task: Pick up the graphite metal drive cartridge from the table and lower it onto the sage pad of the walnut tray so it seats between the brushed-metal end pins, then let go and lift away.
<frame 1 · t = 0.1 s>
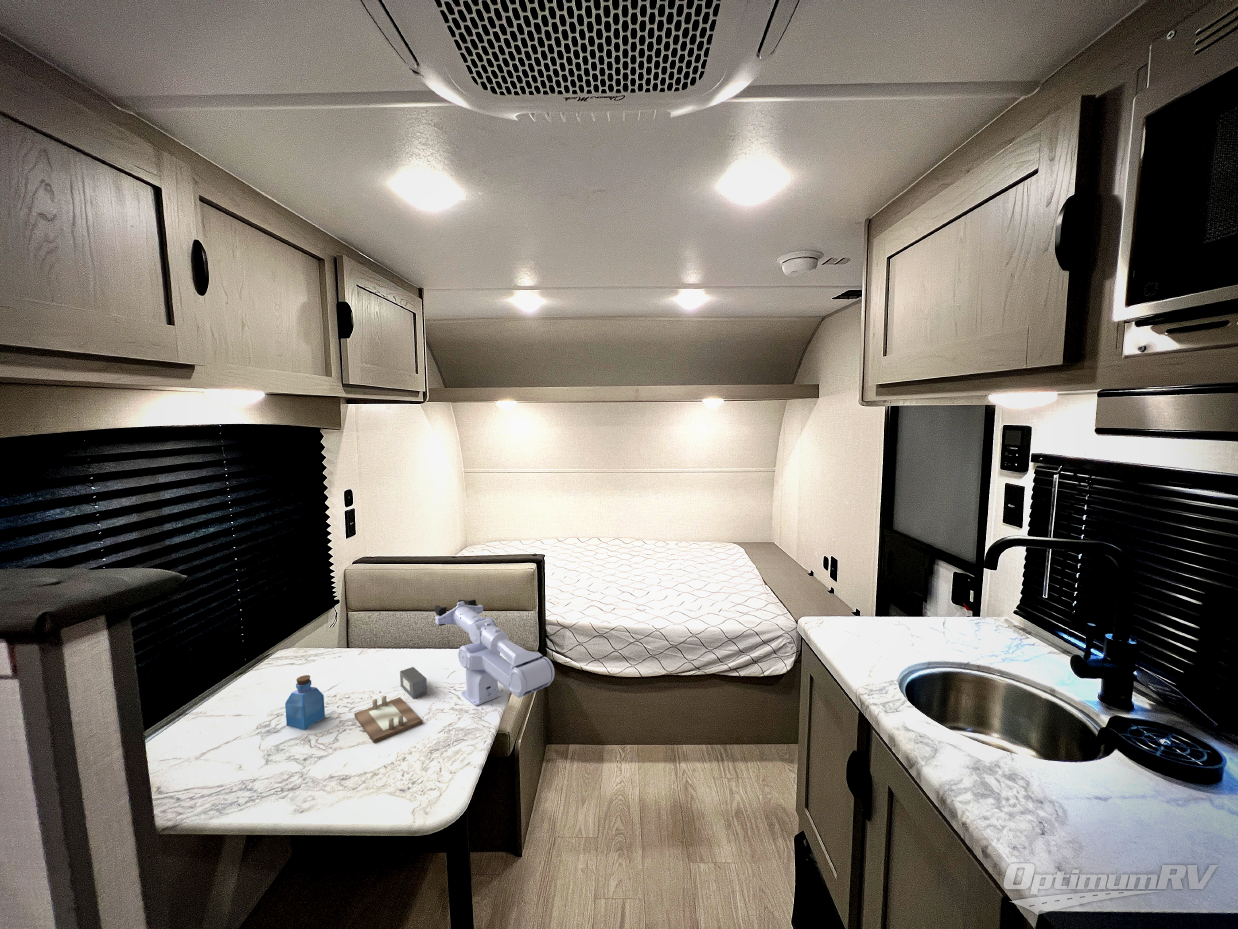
hand: (447, 605, 160), 22 cm above the table, tool horizontal, fingers open, 7 cm apart
drive: (413, 691, 151), on the table
perfume bottle: (306, 722, 136), on the table
pin tray: (387, 720, 136), on the table
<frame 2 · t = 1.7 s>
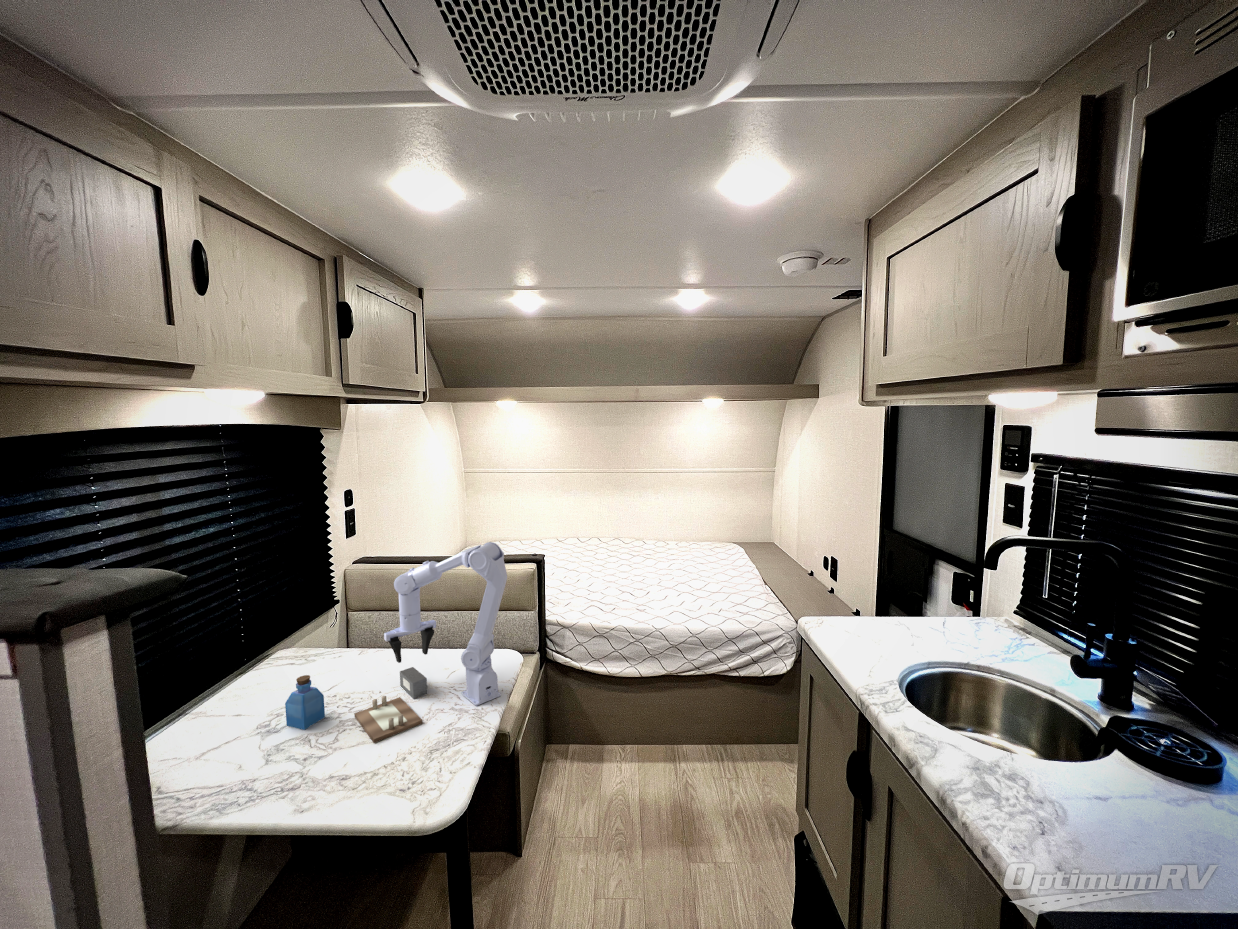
hand: (412, 657, 150), 10 cm above the table, tool pointing down, fingers open, 7 cm apart
nothing on the table moved.
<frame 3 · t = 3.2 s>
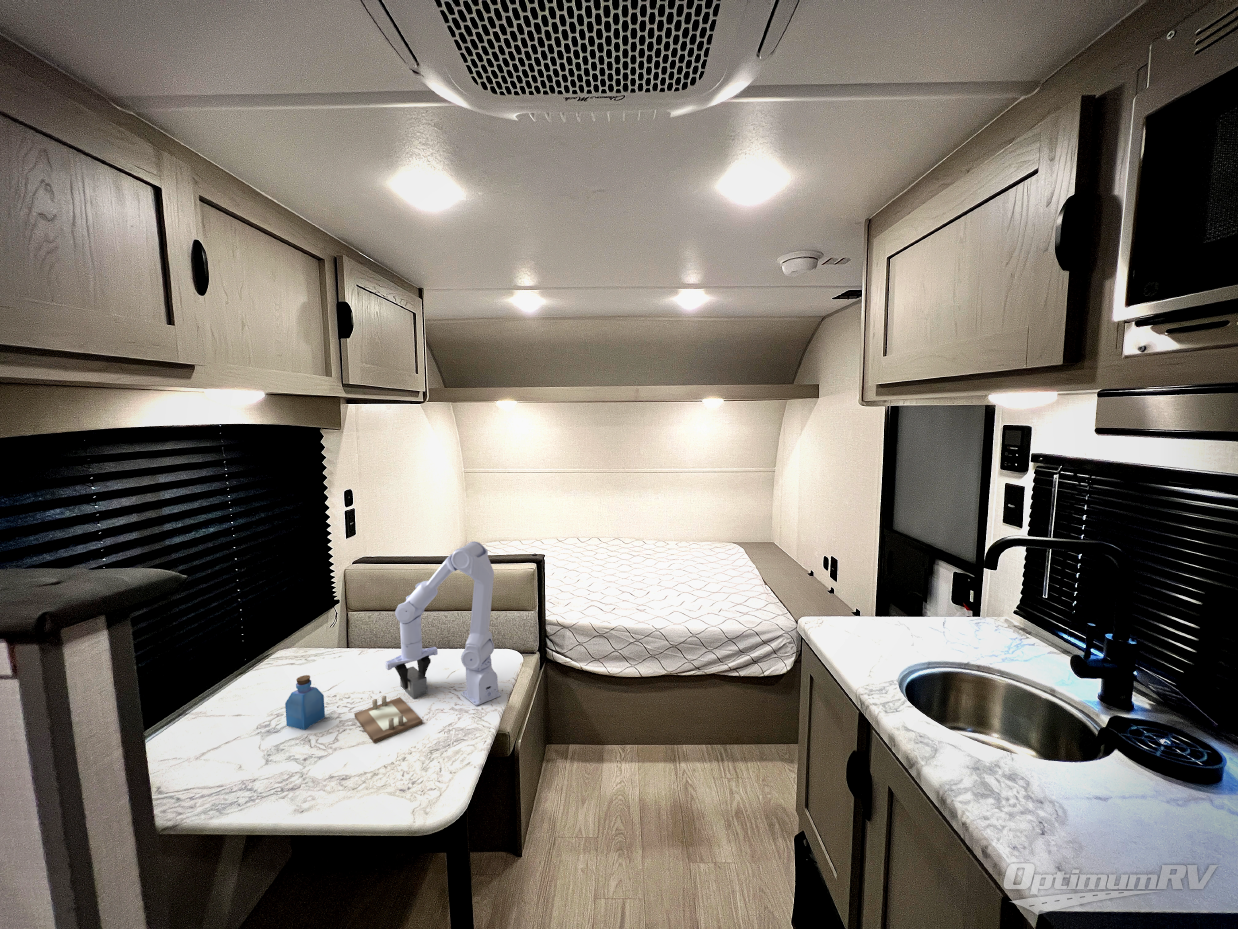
hand: (413, 685, 151), 2 cm above the table, tool pointing down, fingers closed on drive, 4 cm apart
drive: (413, 690, 151), on the table, touching gripper
everything else where it was.
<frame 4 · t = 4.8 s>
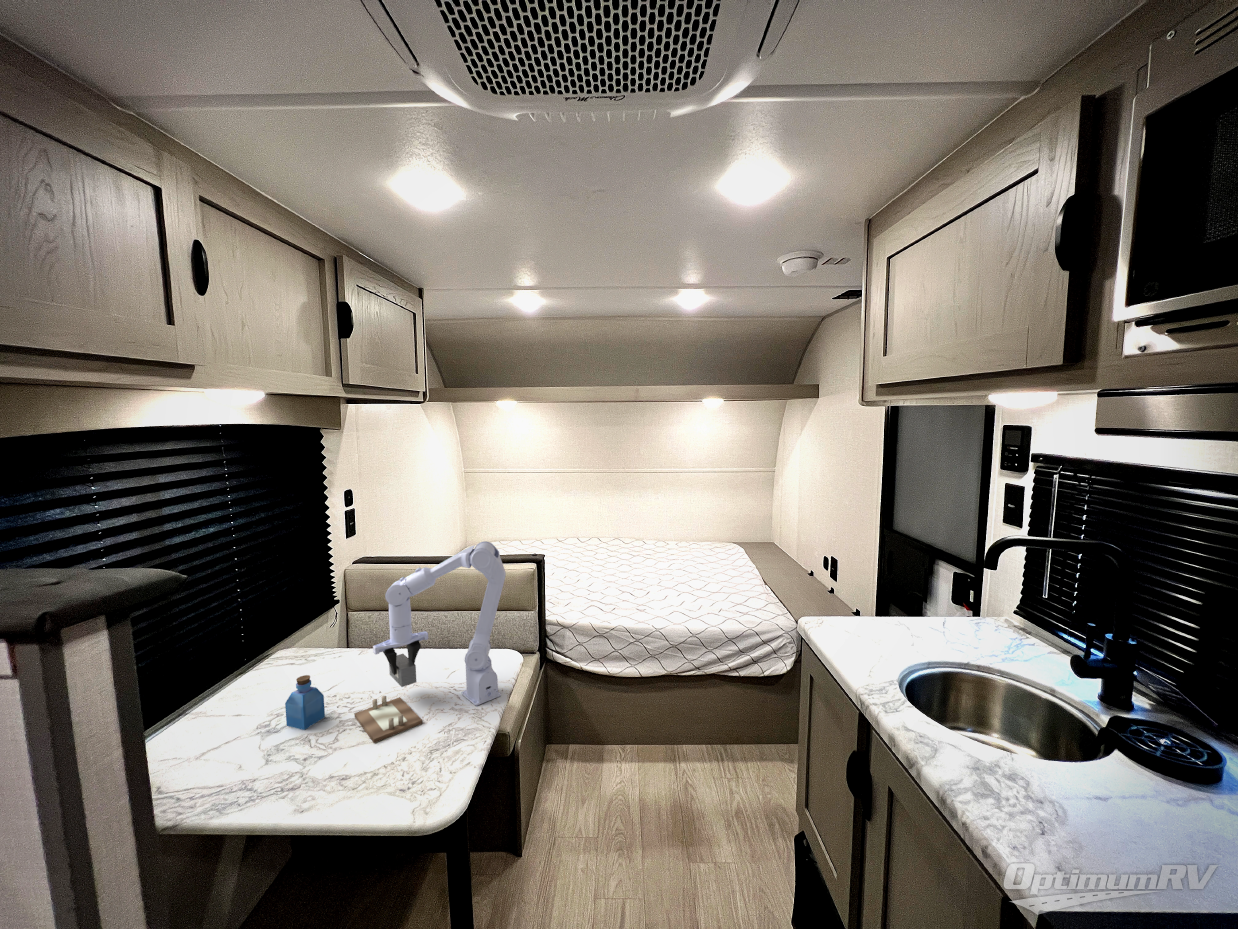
hand: (402, 670, 144), 9 cm above the table, tool pointing down, fingers closed on drive, 4 cm apart
drive: (402, 678, 145), point 7 cm above the table, touching gripper
everything else where it was.
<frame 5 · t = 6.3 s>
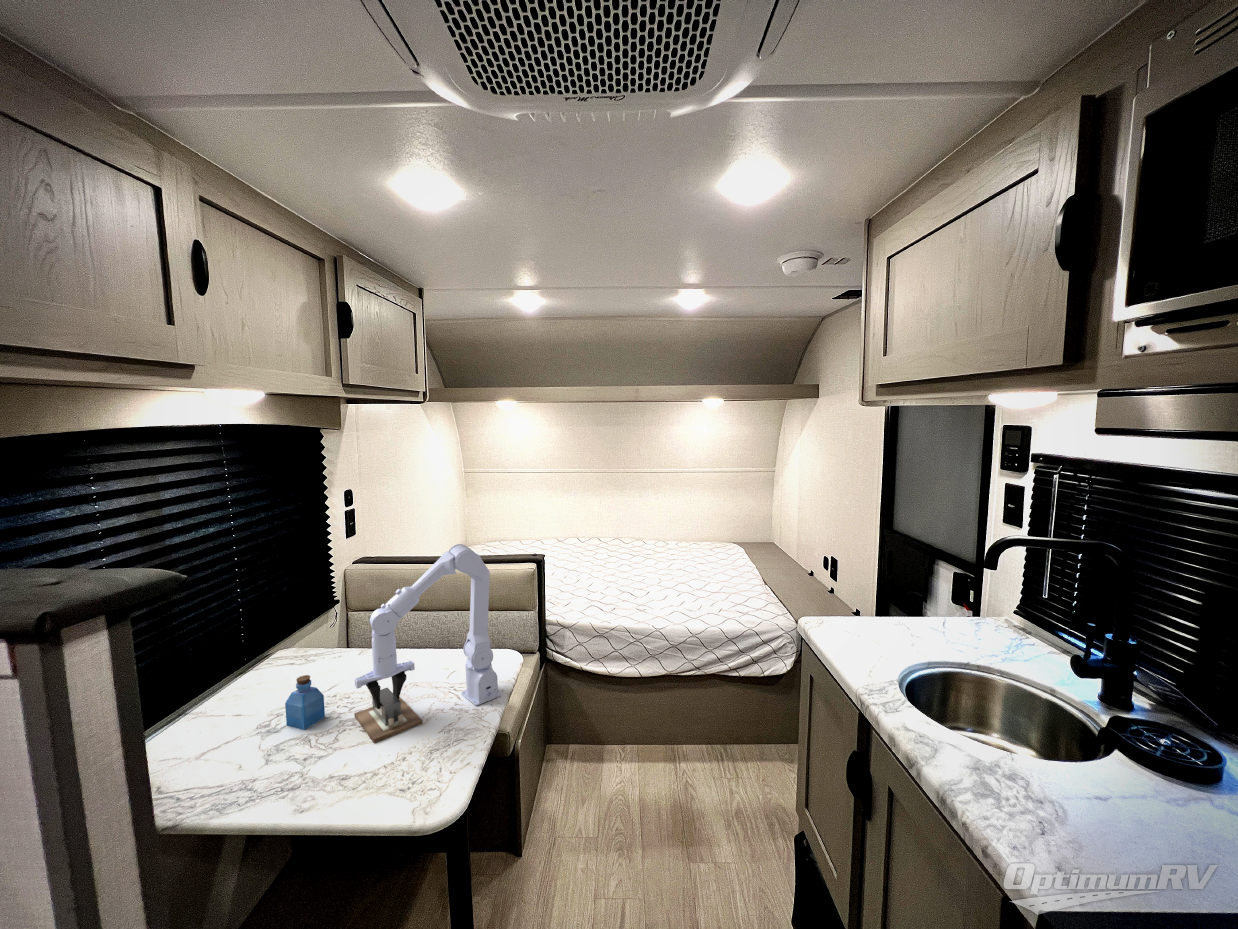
hand: (387, 704, 135), 4 cm above the table, tool pointing down, fingers closed on drive, 4 cm apart
drive: (386, 715, 136), point 1 cm above the table, touching gripper
everything else where it was.
when the fingers open (4 cm above the table, at t = 6.8 s): drive stays where it is, resting on pin tray.
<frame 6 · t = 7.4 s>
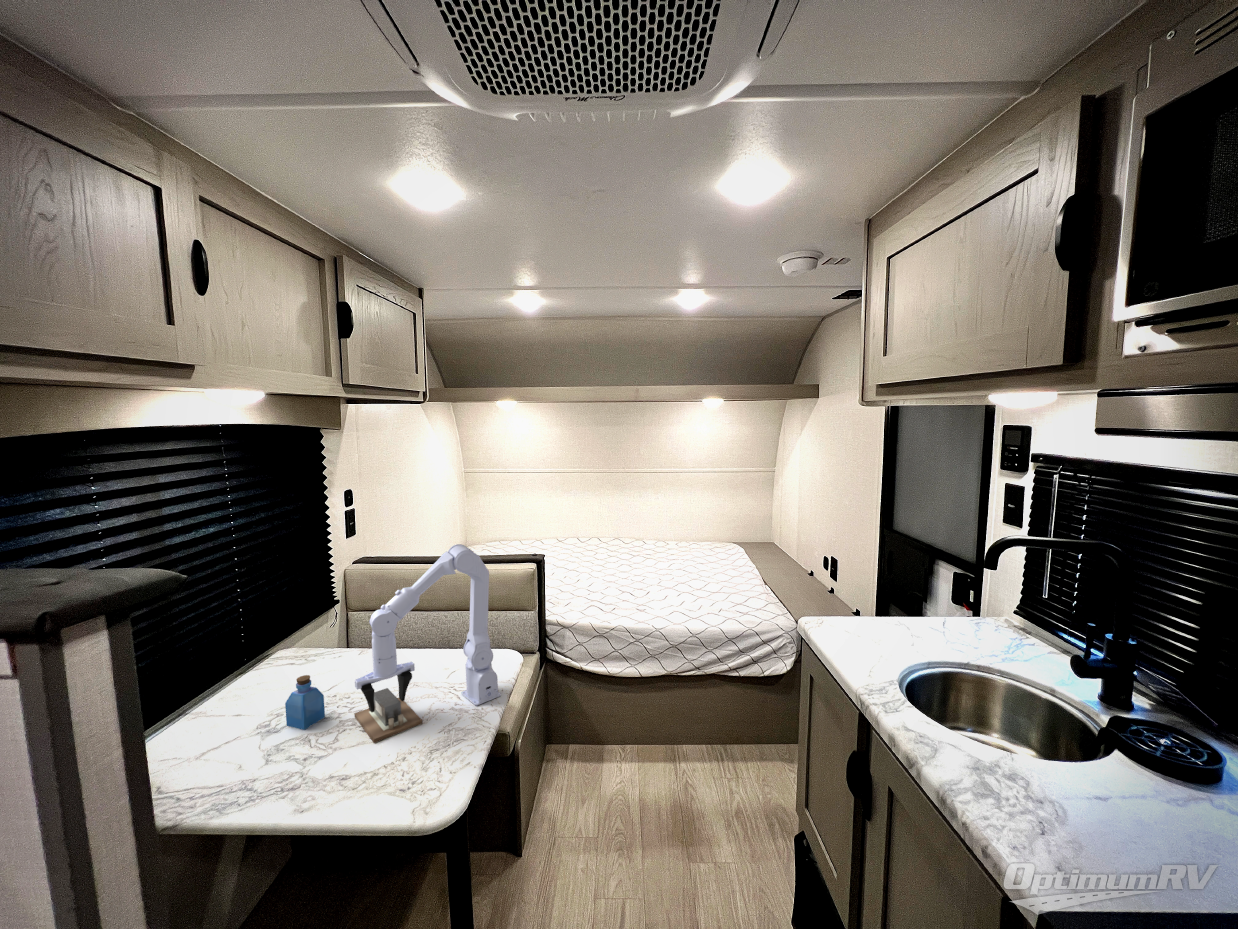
hand: (387, 705, 135), 4 cm above the table, tool pointing down, fingers open, 7 cm apart
drive: (387, 715, 136), point 1 cm above the table, touching pin tray
everything else where it was.
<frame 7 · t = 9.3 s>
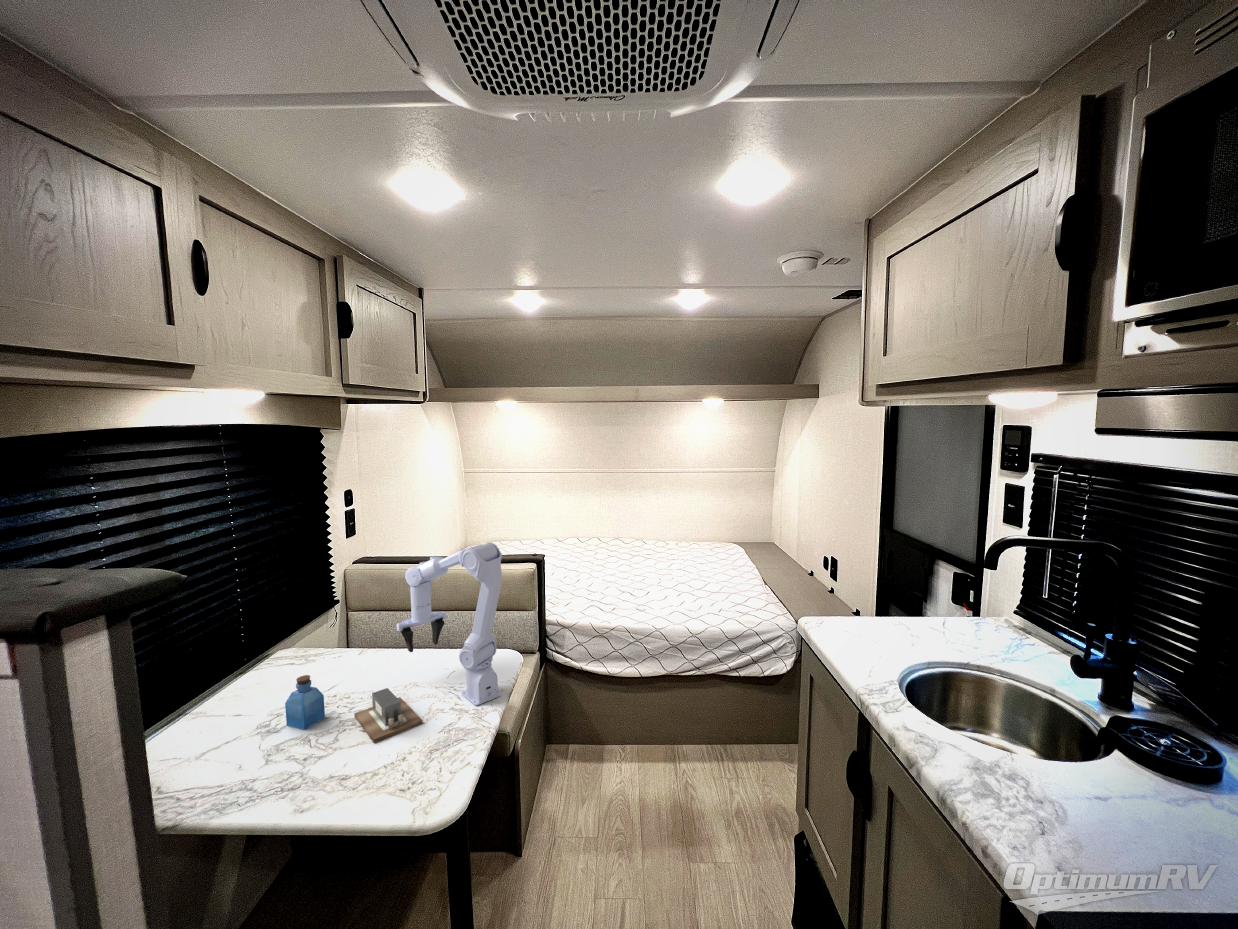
hand: (423, 647, 156), 10 cm above the table, tool pointing down, fingers open, 7 cm apart
nothing on the table moved.
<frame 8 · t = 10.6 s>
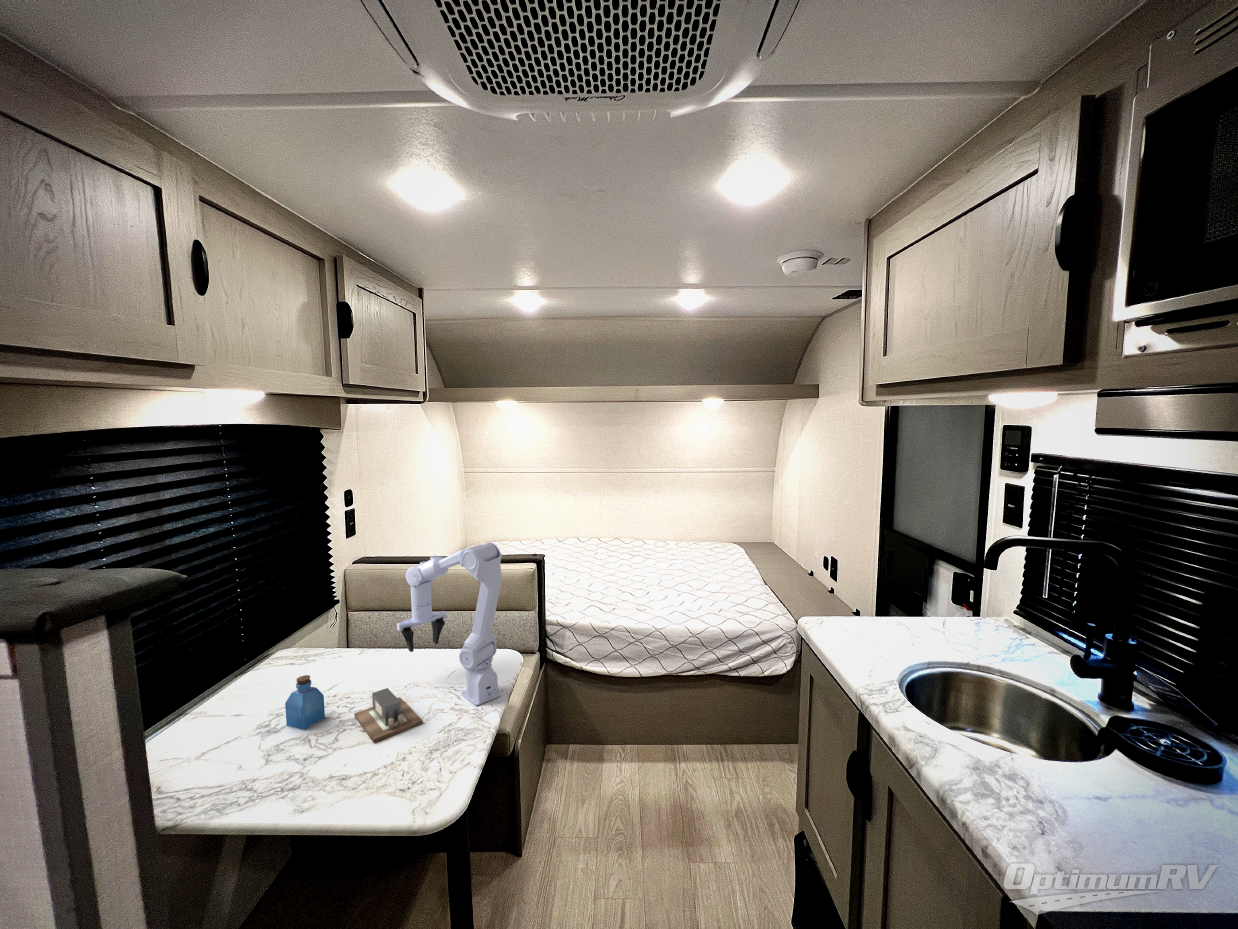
hand: (423, 647, 157), 10 cm above the table, tool pointing down, fingers open, 7 cm apart
nothing on the table moved.
at the end: drive 0.5 cm off-centre on the pin tray, point 1.1 cm above the pin tray's base; drive tilted 0°; the gripper is holding nothing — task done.
